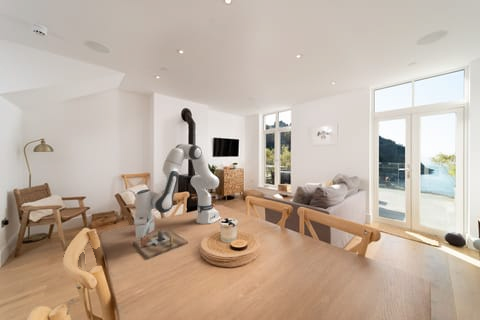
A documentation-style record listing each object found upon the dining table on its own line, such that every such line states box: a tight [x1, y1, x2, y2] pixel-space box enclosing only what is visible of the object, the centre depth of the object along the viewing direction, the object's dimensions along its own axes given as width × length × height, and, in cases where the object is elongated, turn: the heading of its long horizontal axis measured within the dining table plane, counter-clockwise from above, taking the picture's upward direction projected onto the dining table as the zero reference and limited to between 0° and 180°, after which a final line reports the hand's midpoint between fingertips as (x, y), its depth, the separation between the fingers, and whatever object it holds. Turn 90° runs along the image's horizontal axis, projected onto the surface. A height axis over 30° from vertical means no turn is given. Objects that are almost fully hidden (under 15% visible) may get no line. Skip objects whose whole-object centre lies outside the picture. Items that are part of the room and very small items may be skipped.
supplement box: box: [146, 212, 155, 235], centre depth 131 cm, size 7×7×13 cm
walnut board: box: [132, 229, 189, 260], centre depth 113 cm, size 24×24×8 cm
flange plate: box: [140, 235, 170, 247], centre depth 110 cm, size 16×9×6 cm, turn 137°
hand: (143, 239), depth 110 cm, fingers closed
